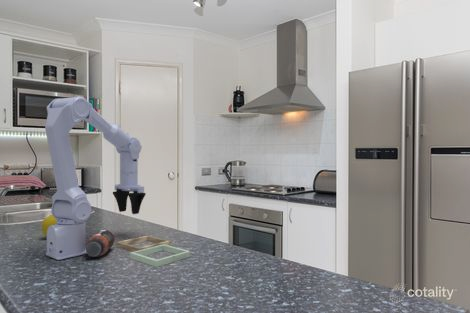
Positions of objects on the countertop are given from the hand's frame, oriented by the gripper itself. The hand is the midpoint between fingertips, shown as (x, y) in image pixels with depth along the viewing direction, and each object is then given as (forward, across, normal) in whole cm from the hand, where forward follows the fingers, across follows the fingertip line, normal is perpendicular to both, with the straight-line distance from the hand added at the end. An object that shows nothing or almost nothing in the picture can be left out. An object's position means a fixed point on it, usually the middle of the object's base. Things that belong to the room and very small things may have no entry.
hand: (128, 212), depth 119 cm
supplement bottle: (+6, -7, +13) cm, 16 cm away
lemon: (+9, +18, +18) cm, 27 cm away
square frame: (+8, -27, +8) cm, 29 cm away
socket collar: (+8, -14, +4) cm, 17 cm away
